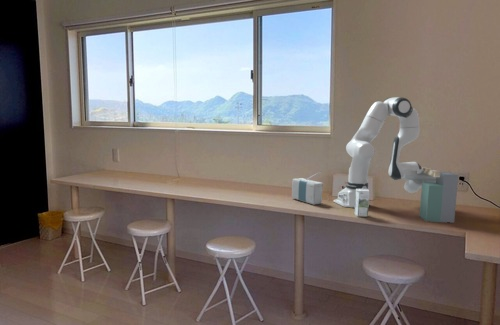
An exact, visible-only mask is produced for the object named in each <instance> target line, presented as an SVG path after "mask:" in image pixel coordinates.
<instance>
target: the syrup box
mask: <svg viewBox="0 0 500 325" xmlns="http://www.w3.org/2000/svg"><path fill="white" fill-rule="evenodd" d="M369 207H370V190H369V188H368V189H356V198H355V208H354V213H353V214H354V215H355V216H356V217H357V218H359V217H360V218H368V217H369Z"/></svg>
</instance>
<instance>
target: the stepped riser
mask: <svg viewBox="0 0 500 325" xmlns="http://www.w3.org/2000/svg"><path fill="white" fill-rule="evenodd" d="M437 171H438V172H440V171H441V170H437ZM458 183H459V174H457V173H455V172H451V171H442V172H440V177H436V182H422V187H421V190H420V191H421V192H420V194H421V195H420V204H419V205H420V206H419V218H421V219H422V220H423V221H424V222H426V221H430V222H429V223H447V222H450V223H451V224H452V223H453V224H454V223H455V216H456V207H457V206H456V205H457V192H458Z"/></svg>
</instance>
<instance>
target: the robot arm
mask: <svg viewBox="0 0 500 325" xmlns="http://www.w3.org/2000/svg"><path fill="white" fill-rule="evenodd" d="M418 112H419V111H418V110H417V109H415V108H413V105H412V103H411V101H410V100H409V99H408V98H406V97H403V96H402V97H399V96H394V97H387V98H386V99H384V100H383V101H379V100H378V101H375V102H374V103H372V105H371V106H370V107H369V109H368V111H367V112H366V115H365V116H364V118H363V121H362V122H361V124H360V127H358V128H359V129H358V130H357V131H356V133H355V134H354V135H353V137H352V138H351V139H350V141H349V142H348V143H347V144H346V146H345V150H346V153H347V154H348V155H349V157H351V158H352V159H351V162H350V167H349V168H348V181H345V183H344V184H345V188H343V189H341V190H340V191H339V192H338V193H337V198H335V199H333V202H334V203H336V204H338V205H340V206H342V207H344V208H354V209H355V198H356V189H368V190H369V182H368V180H369V169H370V164H371V161H372V158H374V155H375V152H376V151H375V147H374V146H373V145H372V144H371V143H372V142H373V140H374V139H376V138H377V137H378V136H379V134H380V131H381V129H382V128H383V126H384V124H385V121H386V119H387V118H388V116H390V117H391V116H392V117H397V118H398V121H399V132H398V133H397V135H396V136H395V137H394V138H393V143H392V147H391V148H392V149H391V156H390V162H389V165H388V176H389V177H390V178H391V179H392V180H394V181H396V180H401V179H402V180H404V181H405V182H404V185H403V188H404V190H405V192H408V193H410V194H413V193H416V192H418V191H420V189H422V182H435V183H436V177H433V176H431V175H428V174H426V173H423V172H424V171H425V170H424V168H422V166H421V165H420V163H419V162H417V161H407V162H400V155H401V150H402V148H403V147H404V146H406V145H408V144H410V143H413V142H414V141H416V140H417V139H418V138H419V136H420V134H421V132H420V130H421V126H420V125H421V124H420V115H419V113H418ZM439 171H440V172H443V171H442V170H439Z"/></svg>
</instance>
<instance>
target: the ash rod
mask: <svg viewBox="0 0 500 325" xmlns="http://www.w3.org/2000/svg"><path fill="white" fill-rule="evenodd" d="M421 168H424V170H425V171H424V172H423V173H426V174H428V175H431V176H433V177H440V172H438V171H439V170H435V169H433V168H430V167H426V166H421Z"/></svg>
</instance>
